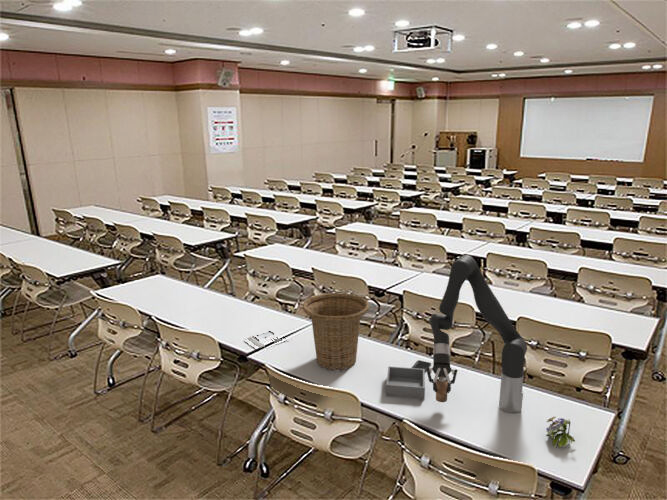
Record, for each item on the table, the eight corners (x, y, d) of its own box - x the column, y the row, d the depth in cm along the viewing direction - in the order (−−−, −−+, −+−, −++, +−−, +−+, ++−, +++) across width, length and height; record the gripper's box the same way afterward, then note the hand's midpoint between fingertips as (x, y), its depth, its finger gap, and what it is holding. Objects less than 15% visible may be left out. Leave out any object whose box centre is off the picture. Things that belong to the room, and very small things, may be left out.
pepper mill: (446, 396, 221) (447, 375, 218) (447, 402, 216) (448, 381, 213) (435, 395, 221) (436, 375, 219) (436, 401, 217) (436, 380, 214)
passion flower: (548, 447, 202) (549, 417, 206) (577, 451, 196) (577, 420, 200) (542, 445, 193) (543, 413, 197) (572, 450, 187) (573, 417, 191)
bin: (424, 379, 245) (424, 368, 243) (424, 399, 228) (424, 387, 226) (388, 377, 248) (388, 366, 246) (385, 396, 231) (386, 384, 229)
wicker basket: (333, 384, 241) (332, 322, 233) (291, 360, 267) (289, 303, 258) (381, 361, 264) (382, 304, 255) (338, 341, 289) (338, 288, 280)
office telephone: (258, 348, 277) (240, 337, 292) (258, 352, 277) (241, 341, 292) (291, 336, 291) (273, 326, 306) (291, 340, 292) (273, 330, 307)
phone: (407, 372, 251) (418, 359, 264) (407, 374, 252) (418, 361, 264) (422, 375, 247) (432, 363, 260) (422, 377, 248) (431, 365, 260)
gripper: (426, 351, 222) (425, 388, 214) (458, 353, 220) (459, 391, 211) (425, 356, 229) (425, 393, 220) (457, 358, 226) (457, 395, 218)
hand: (441, 392), depth 216 cm, fingers closed on pepper mill, 5 cm apart
